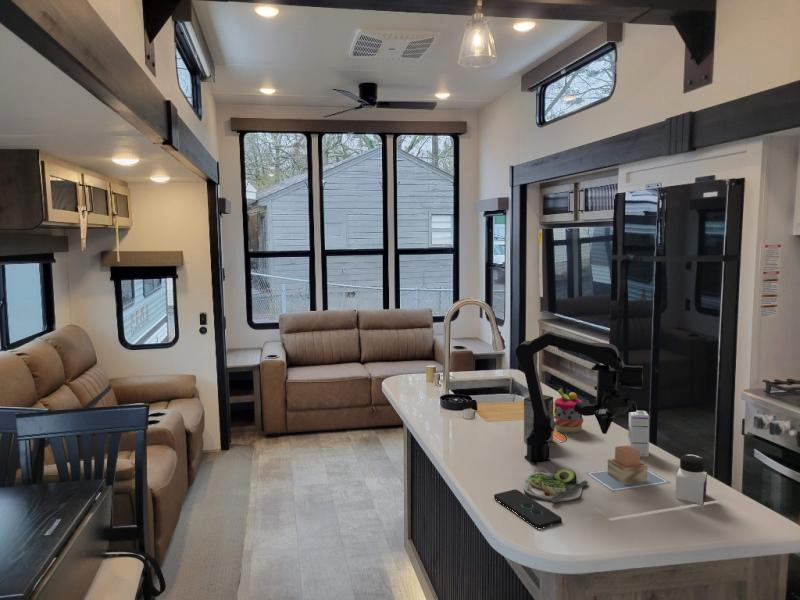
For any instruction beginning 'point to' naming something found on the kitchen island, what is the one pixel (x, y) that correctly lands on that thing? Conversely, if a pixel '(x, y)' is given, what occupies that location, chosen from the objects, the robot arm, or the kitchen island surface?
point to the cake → (567, 414)
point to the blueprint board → (617, 486)
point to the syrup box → (639, 431)
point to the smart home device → (528, 508)
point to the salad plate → (555, 485)
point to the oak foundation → (627, 472)
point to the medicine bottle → (691, 480)
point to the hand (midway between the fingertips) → (604, 433)
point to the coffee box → (529, 414)
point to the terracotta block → (627, 456)
